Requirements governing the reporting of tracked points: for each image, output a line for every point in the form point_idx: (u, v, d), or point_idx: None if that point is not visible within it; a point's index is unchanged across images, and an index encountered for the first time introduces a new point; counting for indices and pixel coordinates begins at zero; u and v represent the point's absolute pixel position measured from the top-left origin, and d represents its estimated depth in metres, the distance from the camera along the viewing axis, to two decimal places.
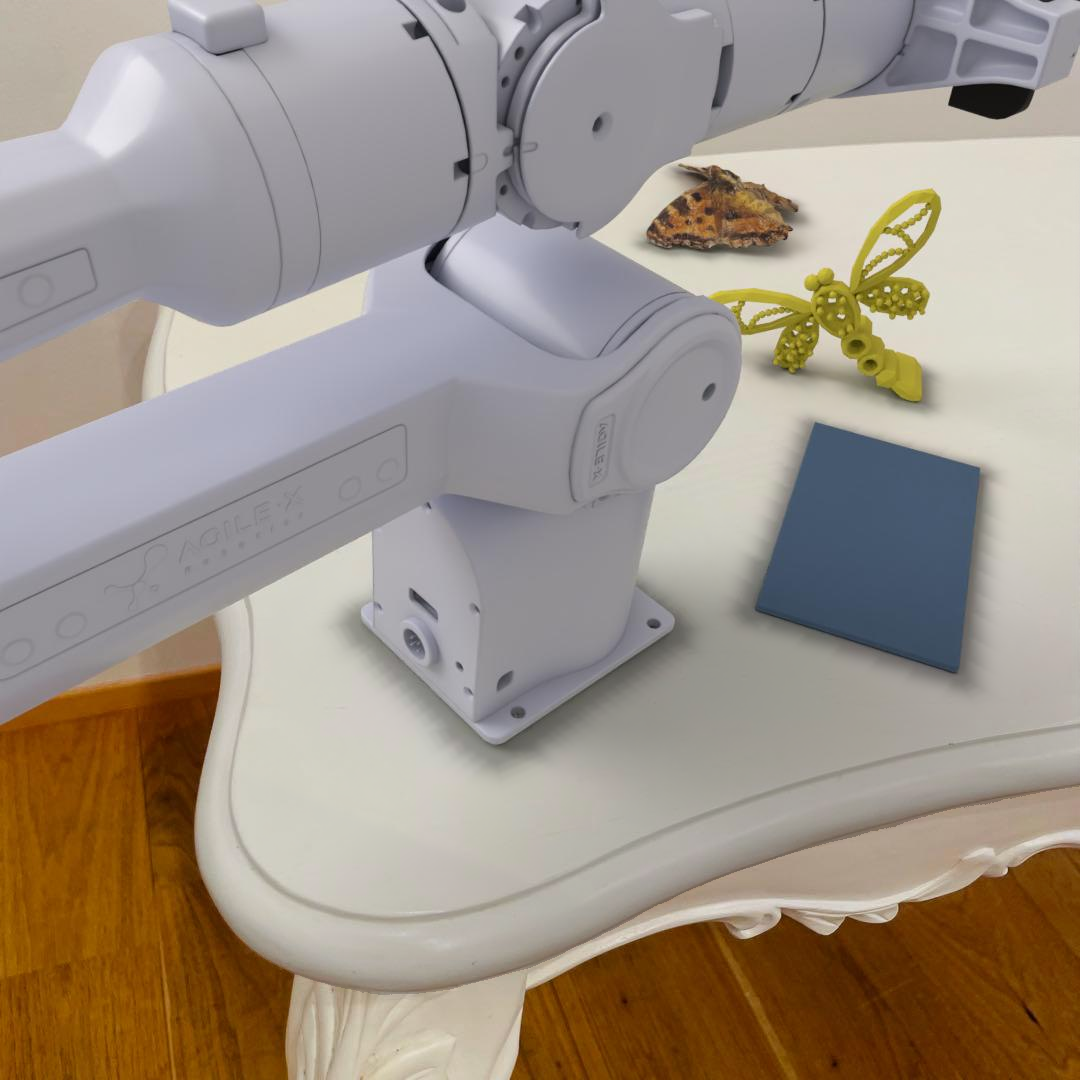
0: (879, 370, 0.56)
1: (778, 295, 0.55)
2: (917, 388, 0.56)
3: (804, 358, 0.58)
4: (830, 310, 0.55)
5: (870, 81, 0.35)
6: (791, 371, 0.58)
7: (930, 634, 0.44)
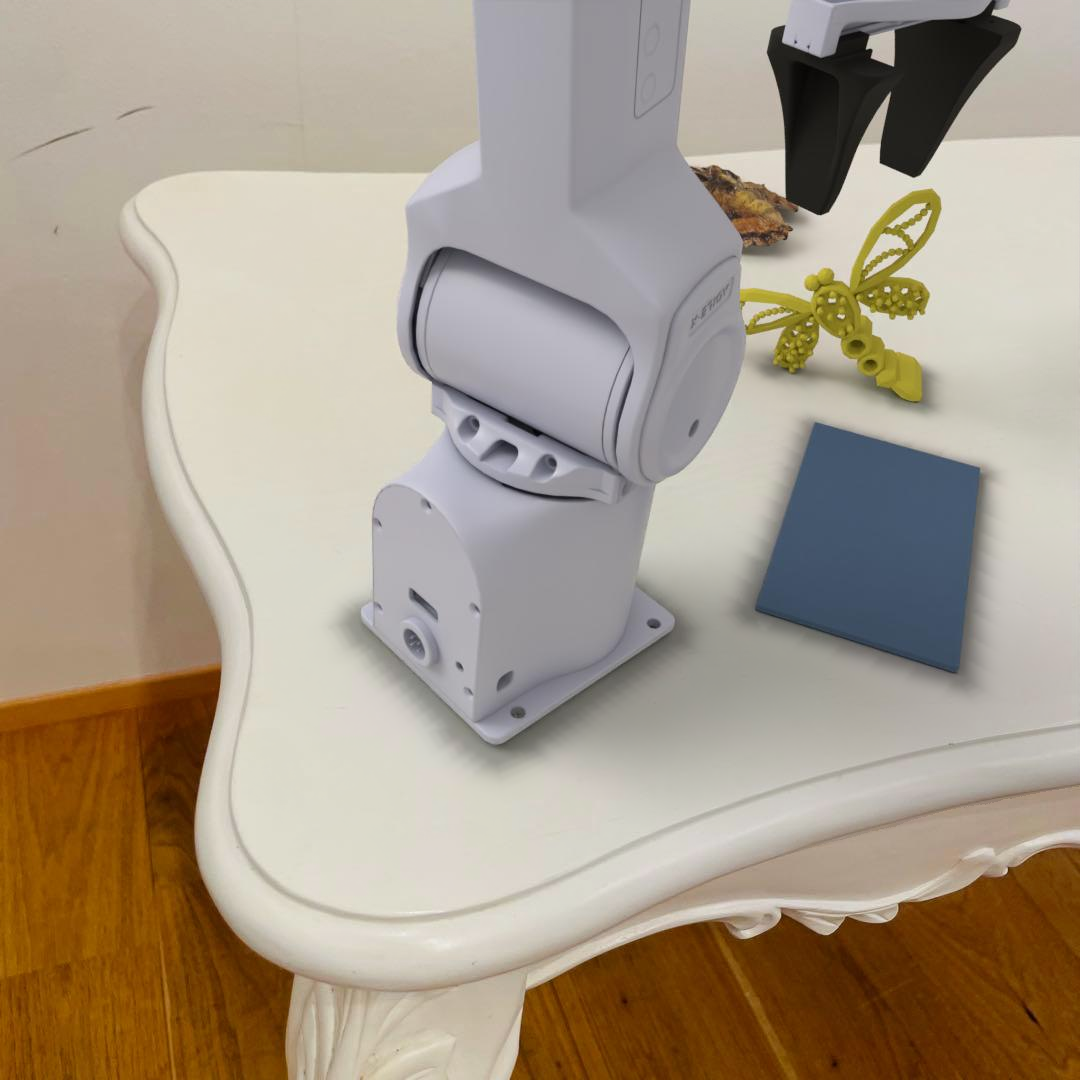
0: (879, 370, 0.56)
1: (778, 295, 0.55)
2: (917, 388, 0.56)
3: (804, 359, 0.58)
4: (830, 310, 0.55)
5: None
6: (791, 371, 0.58)
7: (930, 634, 0.44)
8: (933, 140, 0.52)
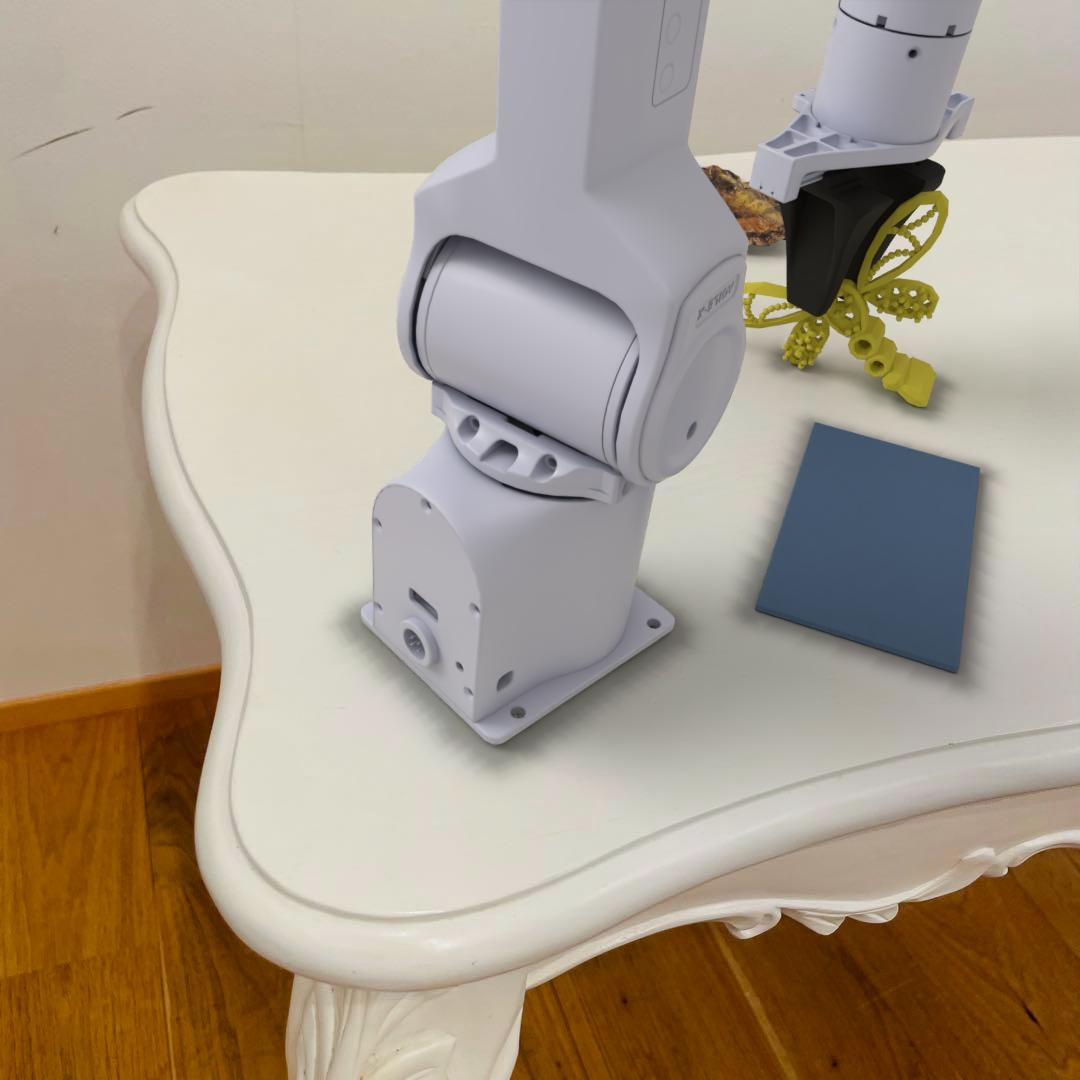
0: (885, 372, 0.56)
1: None
2: (924, 393, 0.56)
3: (814, 356, 0.58)
4: (838, 308, 0.55)
5: None
6: (800, 368, 0.58)
7: (930, 634, 0.44)
8: None
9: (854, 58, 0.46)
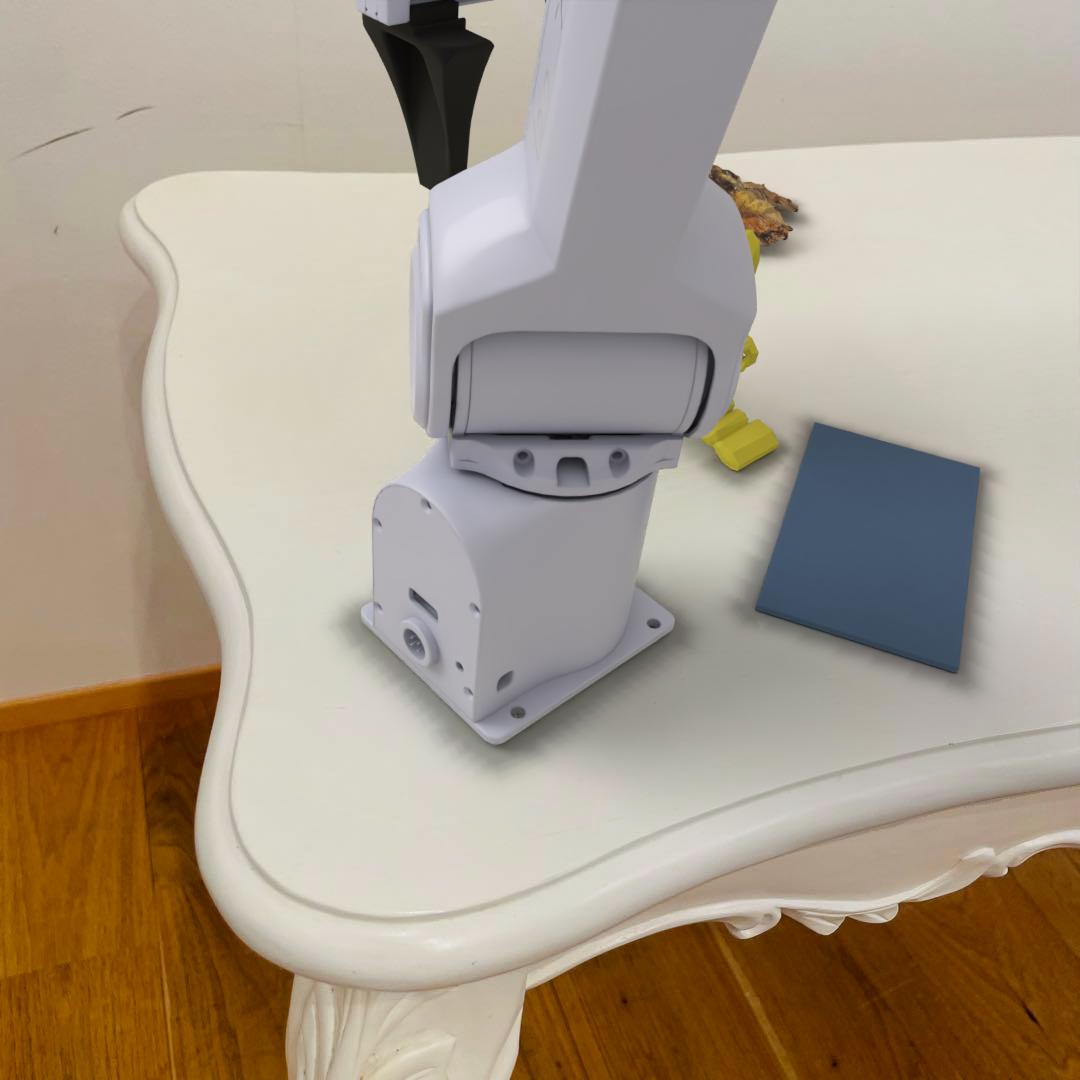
0: None
1: None
2: (739, 456, 0.51)
3: None
4: None
5: None
6: None
7: (930, 634, 0.44)
8: None
9: None
